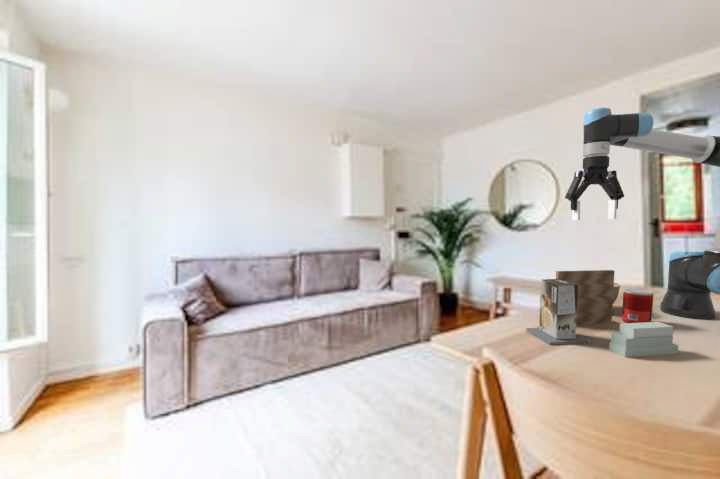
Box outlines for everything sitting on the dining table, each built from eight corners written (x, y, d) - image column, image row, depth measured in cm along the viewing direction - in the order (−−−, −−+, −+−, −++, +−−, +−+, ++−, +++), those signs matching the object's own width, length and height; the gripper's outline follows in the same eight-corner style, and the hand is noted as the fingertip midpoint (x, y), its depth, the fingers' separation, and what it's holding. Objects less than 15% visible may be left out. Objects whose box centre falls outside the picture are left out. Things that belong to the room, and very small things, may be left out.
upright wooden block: (598, 318, 126) (601, 267, 125) (611, 323, 121) (614, 270, 119) (545, 319, 124) (547, 268, 123) (555, 325, 119) (558, 271, 117)
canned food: (656, 327, 117) (658, 294, 116) (628, 325, 119) (631, 292, 118) (642, 319, 125) (645, 288, 124) (617, 318, 126) (619, 287, 125)
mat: (561, 329, 115) (561, 326, 115) (589, 343, 103) (589, 340, 103) (526, 330, 113) (526, 328, 113) (549, 344, 101) (550, 342, 101)
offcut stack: (659, 347, 100) (661, 321, 100) (677, 354, 95) (679, 327, 95) (609, 350, 98) (610, 323, 97) (624, 357, 93) (626, 329, 93)
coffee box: (577, 339, 104) (579, 284, 102) (556, 339, 103) (558, 285, 102) (556, 328, 113) (559, 278, 112) (537, 329, 112) (539, 278, 111)
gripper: (570, 154, 115) (568, 220, 117) (638, 154, 119) (636, 218, 120) (554, 158, 123) (553, 220, 124) (619, 158, 126) (617, 218, 128)
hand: (594, 219), depth 122 cm, fingers open, 13 cm apart
